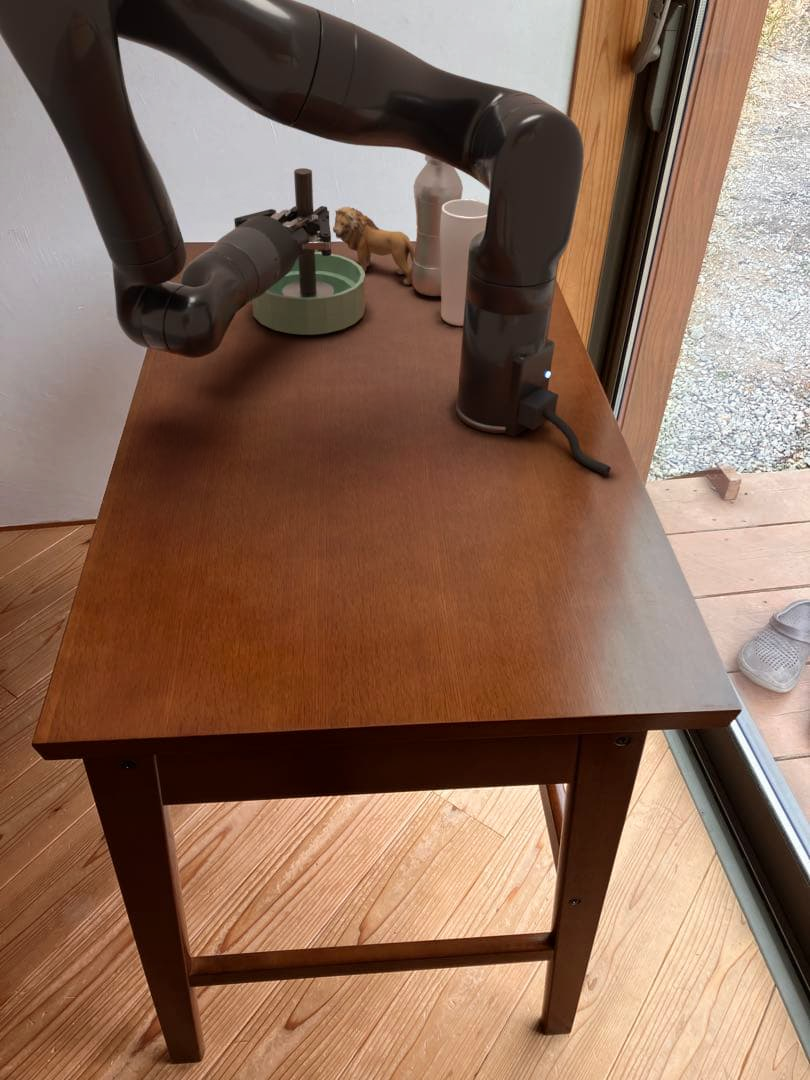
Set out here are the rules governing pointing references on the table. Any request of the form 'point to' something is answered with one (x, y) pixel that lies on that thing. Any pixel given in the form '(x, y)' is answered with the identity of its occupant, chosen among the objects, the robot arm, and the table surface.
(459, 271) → the drinking glass
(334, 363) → the table surface
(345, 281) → the bowl
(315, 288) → the peg stand
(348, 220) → the lion figurine
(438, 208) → the plastic bottle
